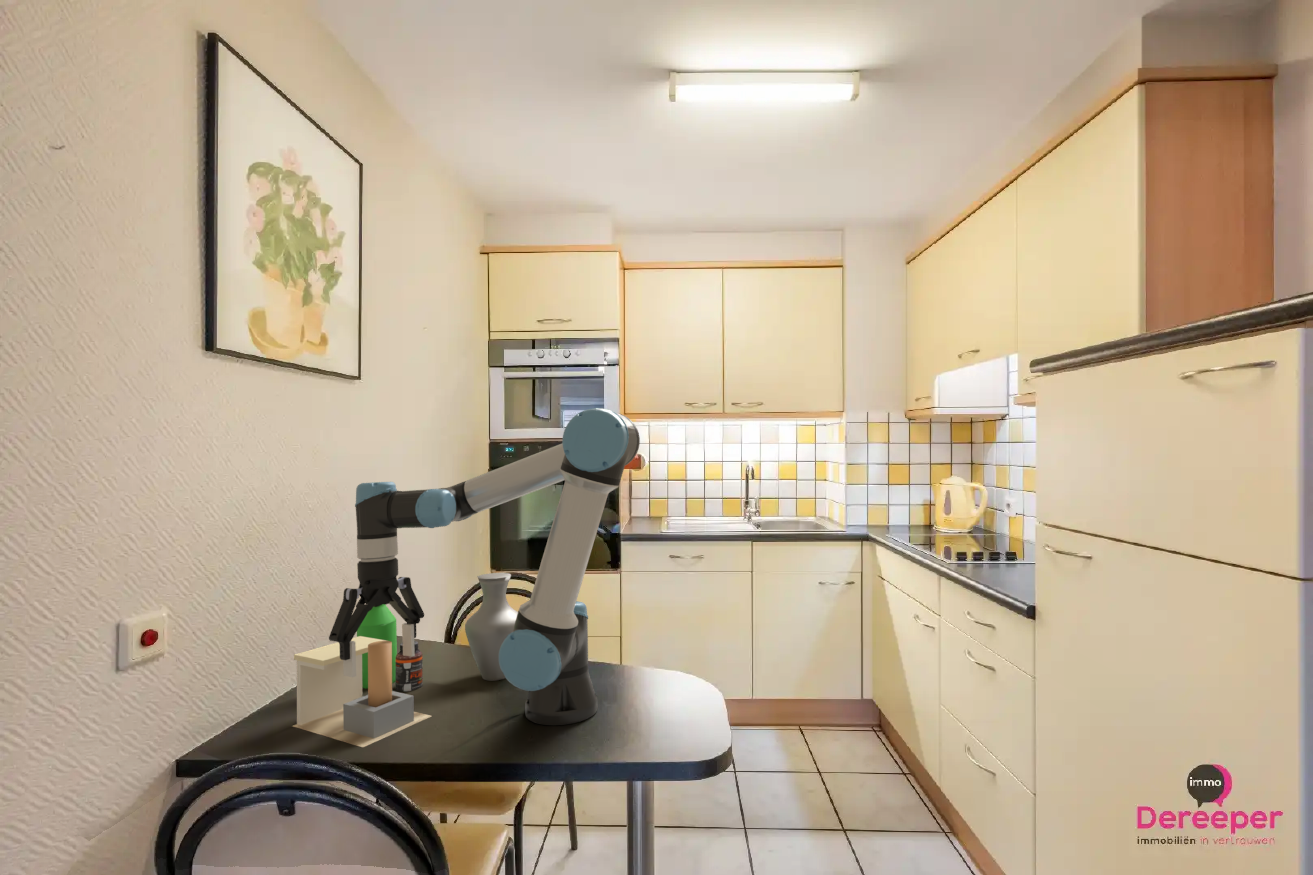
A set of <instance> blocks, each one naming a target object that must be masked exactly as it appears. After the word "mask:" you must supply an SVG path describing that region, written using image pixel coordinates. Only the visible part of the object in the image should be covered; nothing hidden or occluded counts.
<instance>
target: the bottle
mask: <svg viewBox="0 0 1313 875" xmlns="http://www.w3.org/2000/svg"><path fill="white" fill-rule="evenodd" d="M397 630H398V628H397V618H396V616H395V615H394V613H392V611H391V610H390V609H389V607H388V606H387V604H382V605H380V606H378V607H373V608H372V609H371V610H370V611H369V612H368V613H367V615H366V617H365V618H364V620H363V622H362V623H361V625H360V627H359V628H358V630H357V632H356V637H359V636H363V637H368V638H374V639H380V640H386V641H391V642H392V684H395V683H396V655H397V654H398V650H397V648H398V647H397V646H398V645H397V644H398V641H397V639H398V638H397V637H398V636H397ZM362 689H368V652H367V653H364V654H362Z"/></svg>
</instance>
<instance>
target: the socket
mask: <svg viewBox="0 0 1313 875" xmlns="http://www.w3.org/2000/svg"><path fill="white" fill-rule="evenodd" d="M414 712H415V698H414V695H411V694H407V693H403V692H400V691H396V690H392V701H391V702H388V703H386V704H383V705H381V706H378V707H372V706H368V694H366V695H362V697H361V698H358V699H355V700H353V701H350V702H347V703H345V704H343V723H344V730H346V731H349V732H353V733H356V734H360V735H363V736H367V737H370V738H374V739H375V738H377V737H379V736H381V735H383V734H386V733H388V732H390V731H392V730H395V729H397V728H399V727H401V726H404V725H406V724H408V723H410V722H412V721H414Z"/></svg>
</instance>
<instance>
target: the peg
mask: <svg viewBox="0 0 1313 875" xmlns="http://www.w3.org/2000/svg"><path fill="white" fill-rule="evenodd" d="M392 691H393V683H392V642H391V641H377V642H373V643H370V644H368V688H367V695H368V706H372V707H378V706H381V705H383V704H386V703H388V702H391V701H392Z"/></svg>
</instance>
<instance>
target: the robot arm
mask: <svg viewBox="0 0 1313 875" xmlns="http://www.w3.org/2000/svg"><path fill="white" fill-rule="evenodd" d="M561 442H562V443H560V444H557V445H555V446H551V447H549V448H547V449H544V450H542V451H540V452H537V453H534V454H531V455H529V456H526V457H524V458H521V459H518V460H516V461H513V462H511V463H508V464H505V465H503V466H500V467H498V468H495V469H493V470H490V471H487V472H486V473H483V474H480V475H477V476H475V477H472V478H469V479H467V480H465V481H461V482H459V483H457V484H454V485H451V486H448V487H440V488H429V489H428V488H427V489H417V490H416V489H414V490H397V486H396V483H395V482H394V481H379V482H378V481H377V482H375V481H374V482H361V483H359V484H358V485H357V486H356V489H355V504H354V507H355V516H356V517H355V519H356V554H357V556H356V557H357V558H358V559H359V561H358V562H357V565H356V566H357V579H358V582H359V585H358V587H357V588H348V587H346V588H344V590H343V599H342V603H341V606H340V608H339V611H338V613H337V616H336V618H335V620H334V623H333V626H332V627H331V628H332V629H331V631H330V633H329V636H328V640H329V642H335V643H337V642H339V645H340V659H341V660H343V669H344V676H349V677H355V676H356V647H355V641H351V640H352V638H355V635H356V634H357V630H358V628H359V627H360V625H361V623H362V622H363V620H364V618H365V617H366V615H367V613H368V612H369V611H370V610H371V609H372V608H373V607H378V606H380V605H382V604H386V605H390V606H391V607H392V608H393V609H394V611H395V612H396V613H397V614H398V615H399V616H400V617H401V618H402V619H403V620H404V621H405V622H404V623H402V624H401V631H402V632H401V633H402V643H403V655H404V656H410V657H412V656H415V648H414V641H415V639H416V638H417V624H419V623H420V622H421V619H423V618H425V613H424V610H423V608H422V606H421V605H420V602H419V601H418V597H417V595H416V594H415V592H414V589H413V587H412V580H411V577H408V576H399V577H398V578H397V576H398V575H399V559H398V558H397V557H396V556H397V555H398V554H399V546H398V544H399V543H398V529H408V528H409V529H410V528H411V529H413V528H414V529H415V528H416V529H421V528H424V529H425V528H428V529H434V528H439V527H440V528H441V527H448V526H449V525H450V524H451V523H452V522H460V521H463V520H467V519H468V518H471V517H472V516H473V515H476V514H478V513H481V512H483V511H486V510H489V509H491V508H494V507H497V506H499V505H502V504H505V503H507V502H510V501H512V500H516V499H518V498H522V497H523V496H526V495H529V494H531V493H535V492H537V491H539V490H542V489H544V488H547V487H550V486H553V485H555V484H558V483H561V482H563V481H564V484H563V486H562V490H561V493H560V497H559V501H558V505H557V507H556V510H555V513H554V517H553V521H552V525H551V528H550V530H549V534H548V538H547V542H546V545H545V547H544V552H543V554H542V558H541V560H540V561H541V562H540V564H539V565H540V566H539V569H538V571H537V575H536V579H535V581H534V582H535V583H534V586H533V589H532V591H531V596H530V599H529V600H527V601H526V602H523V603H522V604H521V605H520V606H519V607H518V611H517V612H518V614H517V618H516V621H515V624H514V627H513V631H512V633H510V634H509V635H508V636H507V637H506V639H504V642H503V643H502V645H501V647H500V650H499V665H500V668H501V671H502V672H503V674H504V675H505V679H506V680H507V681H508V682H509V683H510V684H511V685H512V686H514V687H516V688H518V689H520V690H523V691H527V692H528V694H527V698H526V700H525V705H524V707H525V709H524V710H525V717H526V718H527V719H528V721H530V722H533V723H535V724H539V725H544V726H563V725H564V726H566V725H571V724H575V723H579V722H582V721H585V720H588V719H589V718H591V717H593V716H594V715H595V714H596V713H597V711H598V696H597V694H596V692H595V688H594V686H593V682H592V679H591V676H590V673H589V636H588V635H589V634H588V632H589V630H588V629H589V628H588V624H589V623H588V619H589V615H588V608H587V605H586V604H585V603H584V602H583V601H577V600H578V597H579V594H580V590H581V587H582V583H583V580H584V576H585V573H586V570H587V567H588V563H589V560H590V556H591V554H592V551H593V550H592V549H593V546H594V542H595V539H596V536H597V533H598V529H599V526H600V523H601V519H602V516H603V512H604V509H605V506H606V502H607V498H608V496H609V493H612V491H615V490H617V489H618V488H619V486H620V484H621V480H622V477H623V473H624V470H625V467H626V466H627V465H628V464H630V463H631V462H632V461H633V460H634V459H635V458H636V455H637V454H638V451H639V450H640V449H639V448H640V444H641V440H640V433H639V430H638V428H637V425H636V424H635V423H634V422H633V421H632V420H631V419H630V418H629V417H628V416H626V415H625V414H621V413H619V412H615V411H613V410H611V409H609V408H602V407H594V408H588V409H585V410H582V411H580V412H578V413H577V414H575V415H574V416H573V417H572V418H571V419H569V421H568V422H567V424H566V425H565V428H564V430H563V434H562V441H561ZM397 590H399V592H400V594H401V595H402V598H403V600H404V601H403V600H402V598H401V596H400V595H399V594H398V593H397V592H396V591H397ZM358 599H359V600H358ZM357 600H358V601H357ZM404 602H405V603H404Z"/></svg>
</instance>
